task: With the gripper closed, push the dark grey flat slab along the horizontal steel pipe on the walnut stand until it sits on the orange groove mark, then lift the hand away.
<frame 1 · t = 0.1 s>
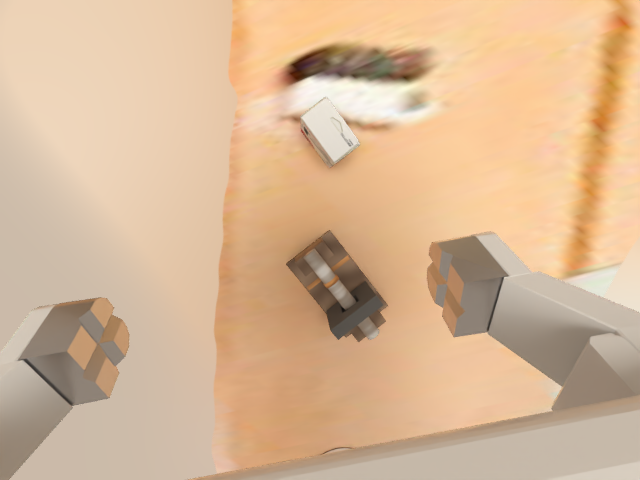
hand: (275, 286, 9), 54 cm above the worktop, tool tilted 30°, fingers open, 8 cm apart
dark grey flat slab: (352, 308, 58), point 7 cm above the worktop, slide at 0.0 cm
pipe stand: (337, 284, 65), on the worktop
ink box: (325, 141, 62), on the worktop
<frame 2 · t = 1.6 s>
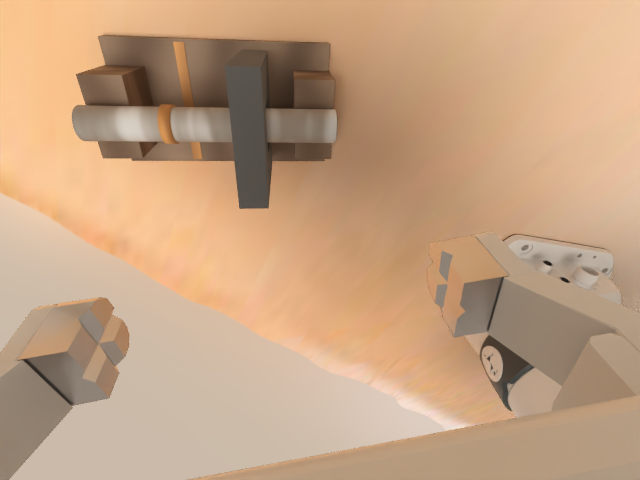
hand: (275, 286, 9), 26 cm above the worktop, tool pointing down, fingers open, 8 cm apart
dark grey flat slab: (254, 125, 26), point 7 cm above the worktop, slide at 0.0 cm
pipe stand: (226, 103, 31), on the worktop
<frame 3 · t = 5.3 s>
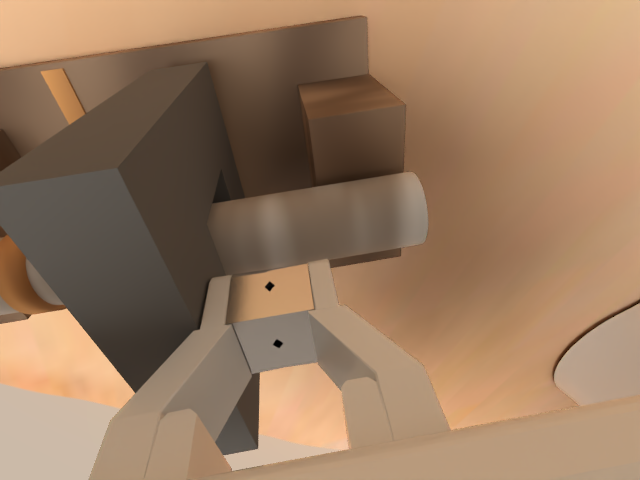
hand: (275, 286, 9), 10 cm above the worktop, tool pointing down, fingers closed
dark grey flat slab: (199, 243, 11), point 7 cm above the worktop, slide at 1.1 cm, touching gripper
pipe stand: (182, 164, 17), on the worktop
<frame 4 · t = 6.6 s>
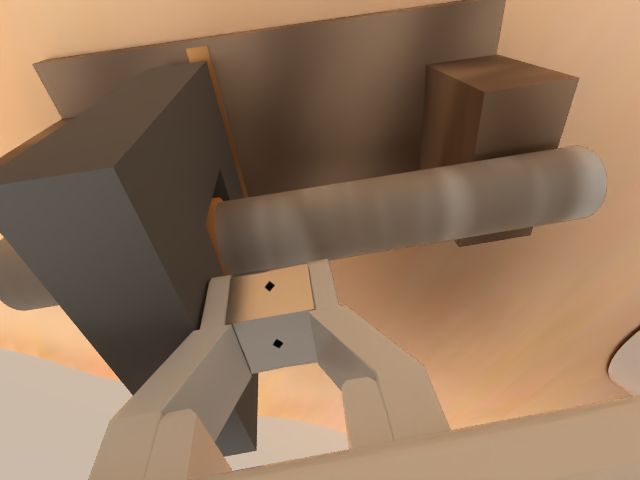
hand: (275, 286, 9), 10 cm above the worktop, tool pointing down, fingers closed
dark grey flat slab: (198, 243, 11), point 7 cm above the worktop, slide at 6.5 cm, touching gripper
pipe stand: (293, 146, 17), on the worktop
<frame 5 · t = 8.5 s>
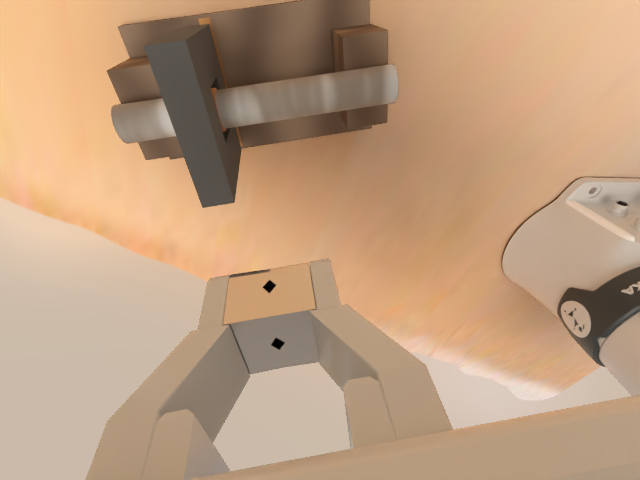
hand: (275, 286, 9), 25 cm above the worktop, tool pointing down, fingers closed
dark grey flat slab: (206, 111, 23), point 7 cm above the worktop, slide at 6.5 cm
pipe stand: (260, 80, 28), on the worktop
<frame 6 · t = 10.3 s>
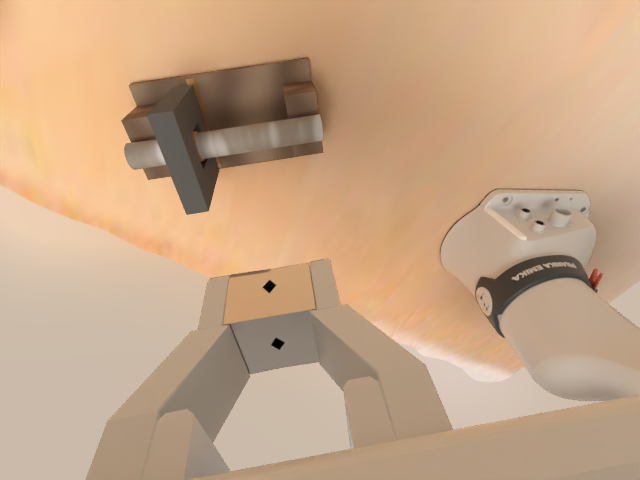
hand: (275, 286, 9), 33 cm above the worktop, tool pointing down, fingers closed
dark grey flat slab: (189, 147, 32), point 7 cm above the worktop, slide at 6.5 cm
pipe stand: (233, 119, 38), on the worktop
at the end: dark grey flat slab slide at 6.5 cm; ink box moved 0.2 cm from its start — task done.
